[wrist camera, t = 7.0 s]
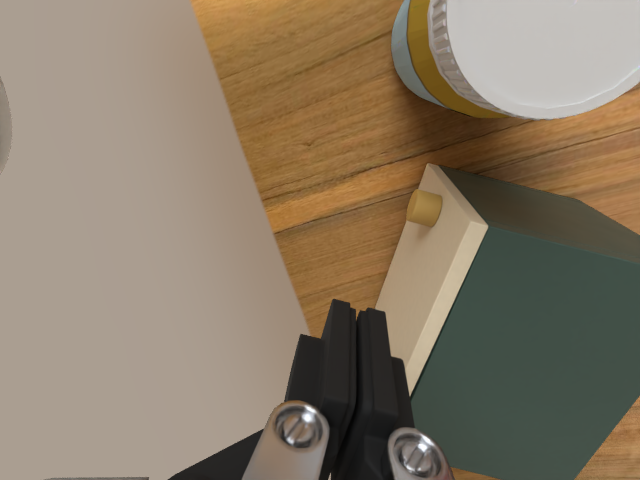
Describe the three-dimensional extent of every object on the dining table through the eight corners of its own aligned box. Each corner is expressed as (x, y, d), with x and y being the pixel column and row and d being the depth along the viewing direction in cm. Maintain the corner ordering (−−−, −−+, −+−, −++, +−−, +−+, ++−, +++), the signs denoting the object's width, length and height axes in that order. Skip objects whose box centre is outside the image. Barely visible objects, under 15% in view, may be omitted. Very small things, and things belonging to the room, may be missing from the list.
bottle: (535, 23, 22) (806, -56, 9) (451, 123, 25) (558, 183, 11) (444, -58, 21) (591, -293, 8) (367, 56, 24) (373, 32, 10)
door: (352, 321, 32) (347, 441, 21) (407, 157, 26) (437, 212, 16) (377, 328, 32) (385, 450, 21) (438, 165, 26) (489, 226, 16)
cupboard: (379, 326, 32) (388, 451, 21) (438, 164, 26) (489, 226, 16) (495, 355, 32) (562, 495, 21) (579, 200, 26) (726, 285, 16)
